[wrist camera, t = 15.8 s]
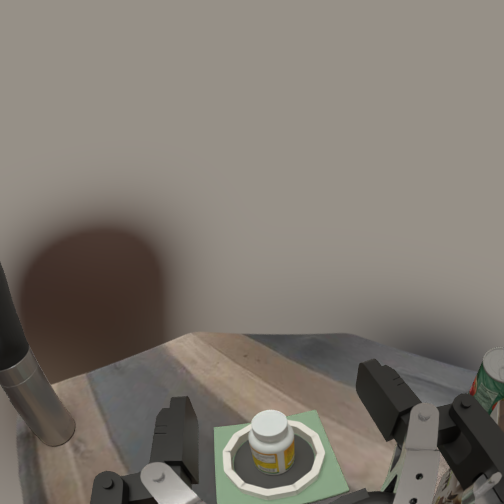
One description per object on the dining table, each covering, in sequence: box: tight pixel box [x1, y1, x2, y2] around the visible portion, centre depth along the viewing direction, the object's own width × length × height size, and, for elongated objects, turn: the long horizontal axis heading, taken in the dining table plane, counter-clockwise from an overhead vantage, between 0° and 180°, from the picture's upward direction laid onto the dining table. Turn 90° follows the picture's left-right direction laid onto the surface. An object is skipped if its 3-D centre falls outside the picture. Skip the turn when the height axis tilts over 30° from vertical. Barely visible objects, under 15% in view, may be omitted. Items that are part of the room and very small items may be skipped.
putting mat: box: [214, 410, 349, 504], centre depth 28 cm, size 16×16×3 cm
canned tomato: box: [468, 347, 504, 415], centre depth 22 cm, size 8×8×11 cm
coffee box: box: [432, 400, 504, 504], centre depth 10 cm, size 9×6×16 cm
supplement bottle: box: [248, 410, 295, 475], centre depth 26 cm, size 5×5×10 cm
